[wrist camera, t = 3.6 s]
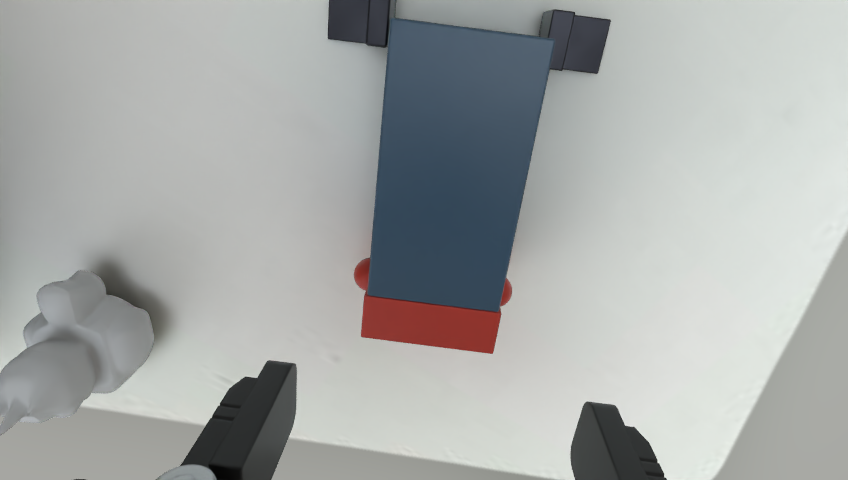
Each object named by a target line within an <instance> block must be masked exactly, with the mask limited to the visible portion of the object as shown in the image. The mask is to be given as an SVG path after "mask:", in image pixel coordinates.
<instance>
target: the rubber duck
mask: <svg viewBox="0 0 848 480" xmlns="http://www.w3.org/2000/svg"><path fill="white" fill-rule="evenodd" d="M37 301H38V305H39V308H40V310H41V313H40V314H39V315H37V316H36V317H34V318H33V319H32V320H31V321H30V322H29V323H28V324H27V325H26V326H25V327H24V330H23V336H24V339H25V342H26V345H27V349H25V350H24V351H23V352H22V353H20V354H19V355H18V356H17V357H15V358H14V359H13V360H11V361H10V362H9V363H8V364H7V365H6V366H5V367H4V368H3V370H2V371H1V373H0V416H2V417H5V418H4V420H3V422H2V424H1V425H0V435H2V434H4V433H5V432H6V431H7V430H8V429H10V428H11V427H12V426H13V425H15V424H16V423H17V422H18V421H19V422H29V423H42V422H44V421H47V420H49V419H50V418H53V417H60V418H61V417H68V416H71V415H73V414H74V413H75V412H76V411H77V410H78V408H79V406H80V405H81V403H82V402H83V400H85V399H87V398H88V397H89V396H90V395H91V393H111V392H113V391H115V390H116V389H118V388H119V387H120V386H121V385H122V384H123V383H124V382H125V381H126V380H128V379H129V378H130V377H131V376H132V375H133V373H134V372H135V371H136V370H137V369H138V368H139V367H140V366H142V365H143V364H144V362H145V361H146V359H147V358H148V356H149V354H150V352H151V350H152V347H153V344H154V332H153V328H152V324H151V320H150V317H149V314H148V313H147V311H146V310H144V309H141V308H136V307H135V306H133V305H131V304H130V303H128V302H127V301H125V300H123V299H121V298H119V297H116V296H112V295H107V294H106V288H105V285H104V283H103V281H102V280H101V278H100V277H99V276H98V275H96V274H95V273H93V272H90V271H83V270H80V271H77V272H76V273H75V274H74V275H73V276H72V277H71V278H69V279H68V280H67V281H58V282H52V283H50V284H47V285H45V286H43V287H42V288H41V289H40V290H39V291H38V292H37Z"/></svg>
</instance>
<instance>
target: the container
mask: <svg viewBox="0 0 848 480" xmlns="http://www.w3.org/2000/svg"><path fill="white" fill-rule="evenodd" d="M554 46H555V39H553V38H545V37H538V36H530V35H522V34H515V33H507V32H499V31H492V30H484V29H476V28H469V27H461V26H453V25H446V24H438V23H430V22H423V21H415V20H407V19H399V18H391V20H390V29H389V41H388V53H387V65H386V77H385V88H384V100H383V112H382V124H381V136H380V148H379V160H378V172H377V184H376V196H375V208H374V220H373V231H372V243H371V255H370V258H367V259H364V260H362V261H361V262H359V263H358V265H357V266H356V268H355V271H354V279H355V282H356V283H357V285H358V286H359V287H360V288H361V289H363V290H366V292H365V295H364V305H363V317H362V329H361V337H365V338H373V339H381V340H388V341H396V342H404V343H412V344H420V345H428V346H435V347H443V348H451V349H459V350H467V351H474V352H482V353H490V354H493V351H494V346H495V342H496V337H497V332H498V327H499V323H500V318H501V309H500V307H501V306H503V305H505V304H506V303H507V302H508V301H509V300H510V298H511V295H512V287H511V284H510V282H509V281H508V279H507V278H506V275H507V270H508V266H509V261H510V256H511V251H512V247H513V242H514V237H515V232H516V227H517V223H518V218H519V213H520V208H521V204H522V199H523V194H524V189H525V185H526V180H527V175H528V170H529V165H530V161H531V156H532V151H533V146H534V142H535V137H536V132H537V127H538V123H539V118H540V113H541V108H542V103H543V99H544V94H545V89H546V84H547V80H548V75H549V70H550V65H551V60H552V56H553V51H554Z"/></svg>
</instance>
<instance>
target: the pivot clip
mask: <svg viewBox="0 0 848 480" xmlns="http://www.w3.org/2000/svg"><path fill="white" fill-rule="evenodd" d="M395 8H396V0H329V20H328V39H334V40H342V41H350V42H357V43H365V44H366V45H368V46H375V47H383V48H385V47H388V41H389V29H390V20H391V18H395ZM610 22H611V20H608V19H600V18H593V17H585V16H577V15H575V12H571V11H563V10H556V9H554V10H550V11H546V12H544V13H543V18H542V23H541V28H540V33H539V37H545V38H553V39H555V46H554V51H553V56H552V60H551V65H550V69H552V70H559V71H562V70H563V69H565V70H573V71H580V72H588V73H596V74H597V73H598V71H599V67H600V63H601V59H602V55H603V50H604V46H605V42H606V38H607V34H608V30H609V26H610Z"/></svg>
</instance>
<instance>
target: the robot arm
mask: <svg viewBox="0 0 848 480" xmlns="http://www.w3.org/2000/svg"><path fill="white" fill-rule="evenodd" d="M296 381H297V368H296V364H294V363H286V362H278V361H271V360H269V361H267V362H266V364H265V366H264V367H263V369H262V371H261V373H260V374H259V376H258V378H251V377H244V378H243V379H241V380H240V381H239V382H237V383H236V384H235V385H233V386H232V387H231V388H230V389H229V390H228V392H227V393H226V395H225V396H224V398H223V400H222V401H221V403H220V406H218V407H217V409H216V411H215V412H214V414H213V416H212V418H211V419H210V420H209V422H208V423H207V425H206V426H205V428H204V430H203V431H202V433H201V434H200V436H199V437H198V439H197V441H196V442H195V444H194V445H193V447H192V448H191V450H190V452H189V453H188V455H187V456H186V458H185V460H184V461H183V463H182V464H181V465H180V466H179V467H176V468H173V469H171V470H169V471H167V472H165V473H164V474H162V475H161V476H159V477H158V478H157V479H156V480H271V479H272V476H273V474H274V472H275V469H276V467H277V464H278V462H279V459H280V457H281V454H282V452H283V450H284V447H285V445H286V442H287V440H288V437H289V435H290V432H291V430H292V427H293V423H294V419H295V413H296ZM571 465H572V470H573V473H574V477H575V480H667V479H666V478H664V473H663V471H662V469H661V467H660V464H659V463H657V458H656V456H655V454H654V452H653V450H652V448H651V446H650V444H649V442H648V441H647V440H646V439H645V438H644V437H643V436H642V435H641V434H640V433H639V432H638V431H637V429H636V428H635V427H629V426H625V425H624V422H623V420H622V418H621V416H620V413H619V411H618V409H617V407H616V406H615V405H610V404H602V403H594V402H586V403H585V404H584V406H583V408H582V412H581V415H580V418H579V421H578V425H577V428H576V431H575V434H574V438H573V441H572V445H571ZM76 480H85V479H76Z"/></svg>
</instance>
